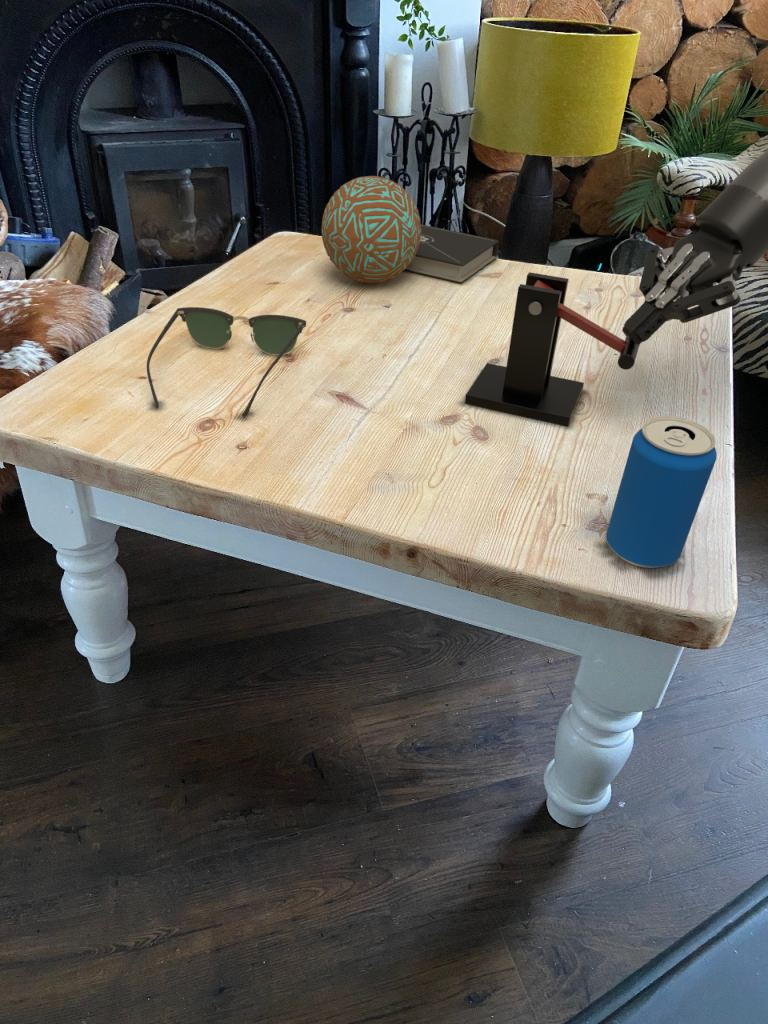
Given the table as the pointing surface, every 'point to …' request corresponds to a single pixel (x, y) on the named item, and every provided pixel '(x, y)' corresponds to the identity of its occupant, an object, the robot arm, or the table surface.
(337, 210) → the decorative sphere
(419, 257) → the book
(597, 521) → the table surface
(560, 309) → the lever
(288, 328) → the sunglasses
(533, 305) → the bracket
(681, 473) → the beverage can
